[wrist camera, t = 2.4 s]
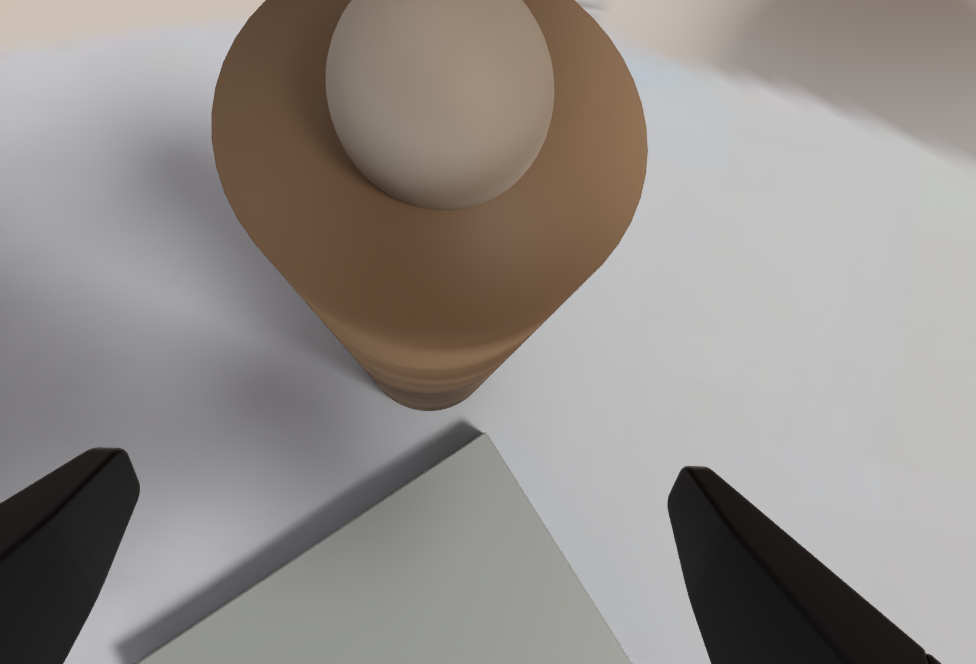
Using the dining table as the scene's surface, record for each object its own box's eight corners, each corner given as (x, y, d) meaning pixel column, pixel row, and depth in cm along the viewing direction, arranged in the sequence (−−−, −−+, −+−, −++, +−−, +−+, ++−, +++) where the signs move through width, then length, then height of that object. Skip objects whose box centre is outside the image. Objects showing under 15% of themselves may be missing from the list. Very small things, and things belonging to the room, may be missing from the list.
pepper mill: (409, 435, 19) (330, 415, 3) (344, 329, 20) (11, -123, 4) (513, 368, 21) (831, 111, 4) (449, 269, 21) (525, -277, 5)
